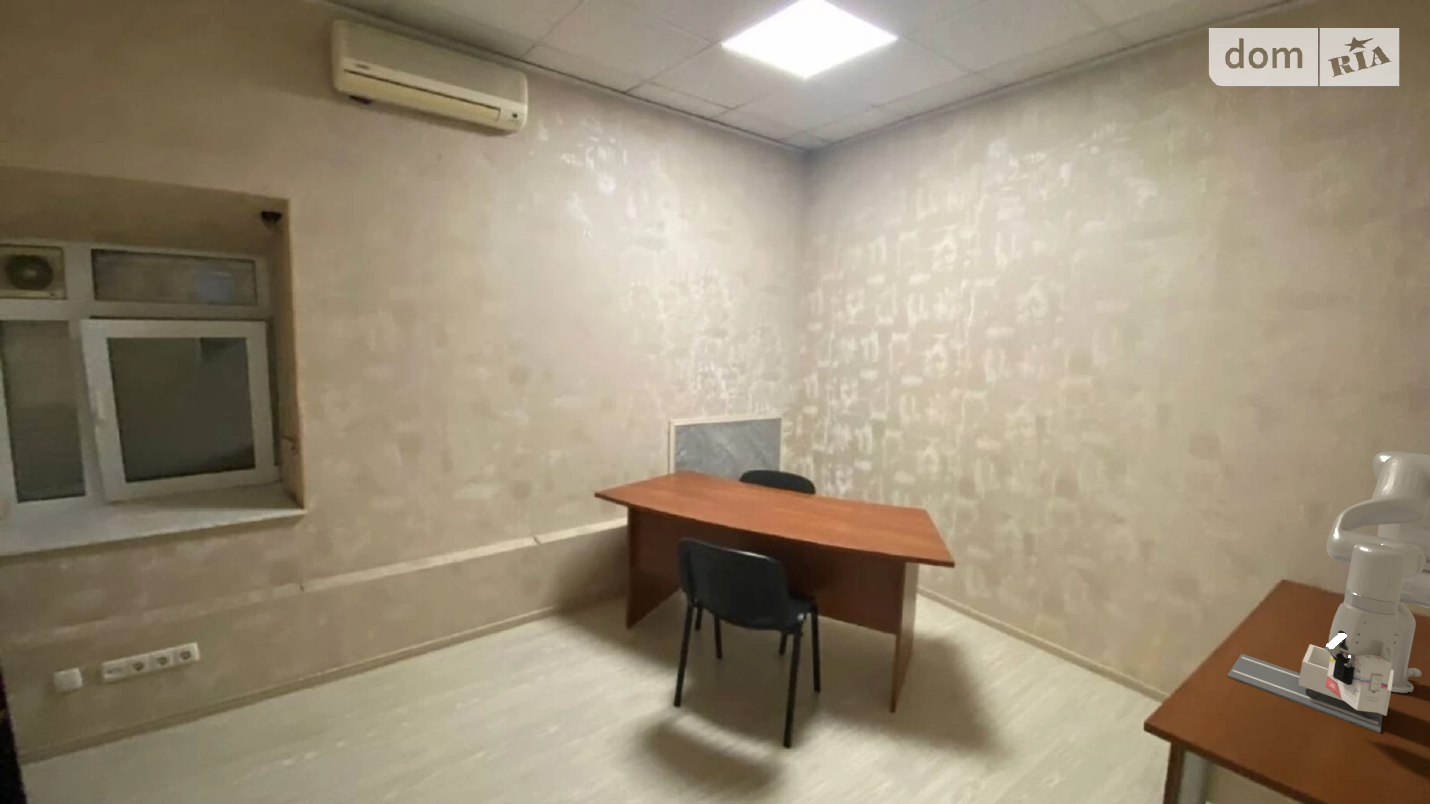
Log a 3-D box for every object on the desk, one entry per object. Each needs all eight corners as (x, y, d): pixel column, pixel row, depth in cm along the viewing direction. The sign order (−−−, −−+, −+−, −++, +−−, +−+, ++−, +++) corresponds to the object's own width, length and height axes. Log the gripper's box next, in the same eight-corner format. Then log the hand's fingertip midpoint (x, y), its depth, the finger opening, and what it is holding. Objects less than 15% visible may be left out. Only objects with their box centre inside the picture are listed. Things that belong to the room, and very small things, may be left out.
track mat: (1241, 655, 160) (1241, 652, 160) (1384, 704, 140) (1384, 701, 140) (1226, 676, 149) (1227, 673, 149) (1380, 733, 129) (1380, 730, 129)
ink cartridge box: (1323, 686, 131) (1333, 625, 129) (1349, 689, 130) (1360, 628, 128) (1356, 711, 123) (1368, 645, 121) (1384, 714, 122) (1396, 648, 120)
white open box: (1304, 675, 149) (1310, 644, 148) (1387, 703, 139) (1393, 670, 138) (1296, 694, 140) (1302, 661, 140) (1384, 725, 130) (1391, 690, 129)
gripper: (1388, 594, 128) (1374, 671, 130) (1313, 593, 127) (1300, 670, 129) (1431, 611, 120) (1415, 692, 123) (1351, 610, 120) (1337, 692, 122)
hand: (1356, 680), depth 126 cm, fingers closed on ink cartridge box, 5 cm apart
